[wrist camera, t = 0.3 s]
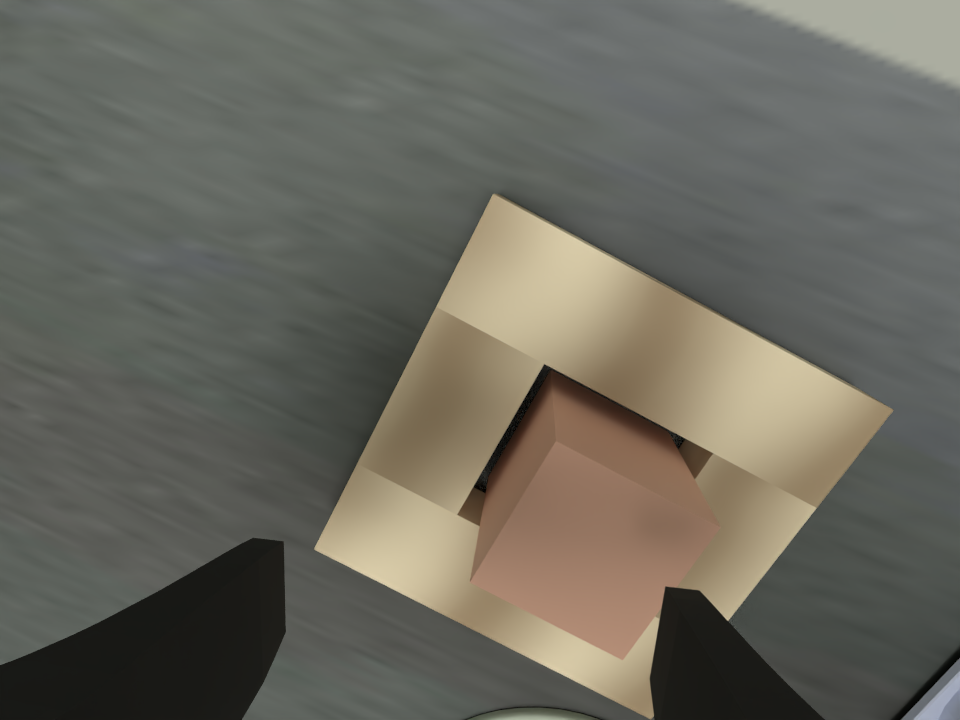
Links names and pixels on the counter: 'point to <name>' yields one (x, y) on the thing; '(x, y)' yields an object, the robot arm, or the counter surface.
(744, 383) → the maple pocket holder
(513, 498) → the terracotta block
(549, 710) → the sage coaster
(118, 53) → the counter surface
